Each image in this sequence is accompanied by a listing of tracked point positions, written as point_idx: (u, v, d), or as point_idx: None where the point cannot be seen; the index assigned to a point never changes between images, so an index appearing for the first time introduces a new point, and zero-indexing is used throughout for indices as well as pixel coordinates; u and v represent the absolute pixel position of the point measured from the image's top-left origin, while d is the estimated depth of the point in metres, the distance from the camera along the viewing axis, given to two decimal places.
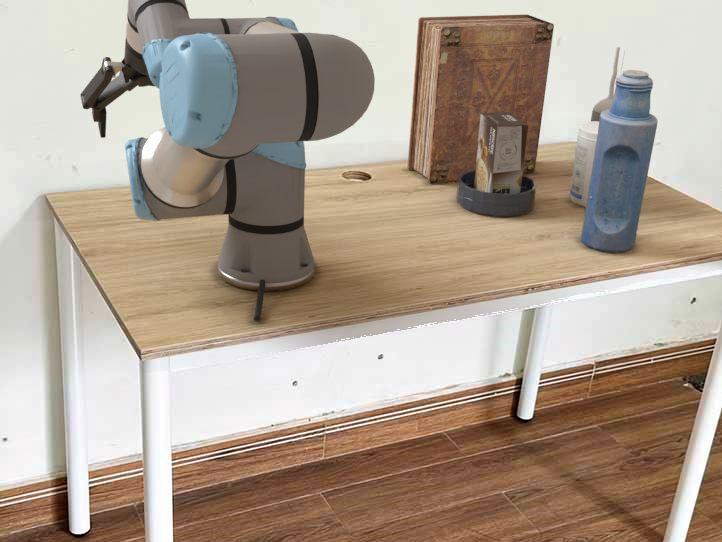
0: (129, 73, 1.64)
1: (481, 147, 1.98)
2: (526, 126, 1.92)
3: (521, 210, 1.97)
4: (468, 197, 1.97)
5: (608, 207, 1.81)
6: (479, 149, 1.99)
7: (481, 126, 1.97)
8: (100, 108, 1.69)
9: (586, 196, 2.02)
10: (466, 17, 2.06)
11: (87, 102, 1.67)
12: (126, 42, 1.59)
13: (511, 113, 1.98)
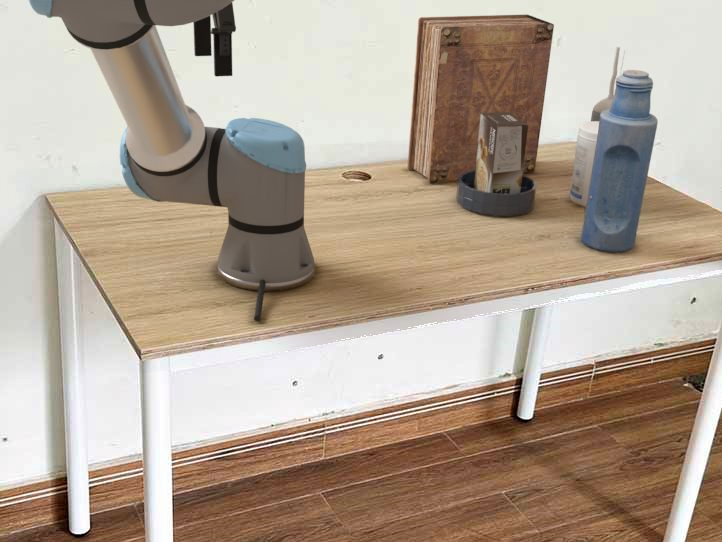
0: None
1: (481, 147, 1.98)
2: (526, 126, 1.92)
3: (521, 210, 1.97)
4: (468, 197, 1.97)
5: (608, 207, 1.81)
6: (479, 149, 1.99)
7: (481, 126, 1.97)
8: None
9: (586, 196, 2.02)
10: (466, 17, 2.06)
11: None
12: None
13: (511, 113, 1.98)
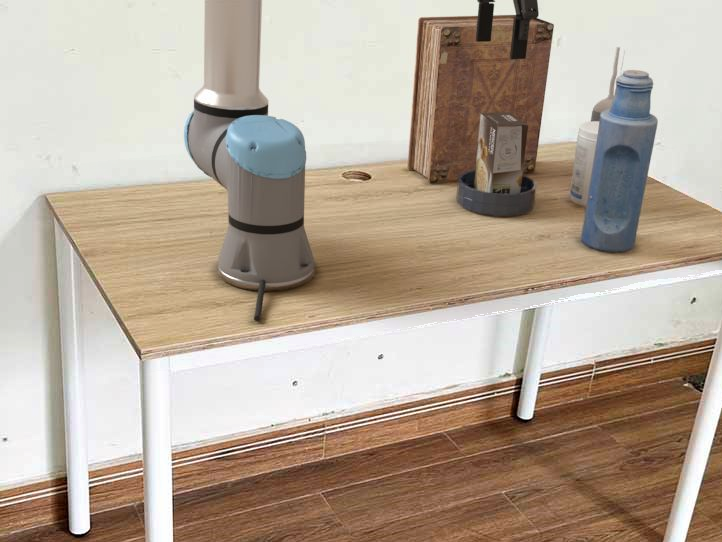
0: None
1: (481, 147, 1.98)
2: (526, 126, 1.92)
3: (521, 210, 1.97)
4: (468, 197, 1.97)
5: (608, 207, 1.81)
6: (479, 149, 1.99)
7: (481, 126, 1.97)
8: None
9: (586, 196, 2.02)
10: (466, 17, 2.06)
11: None
12: None
13: (511, 113, 1.98)
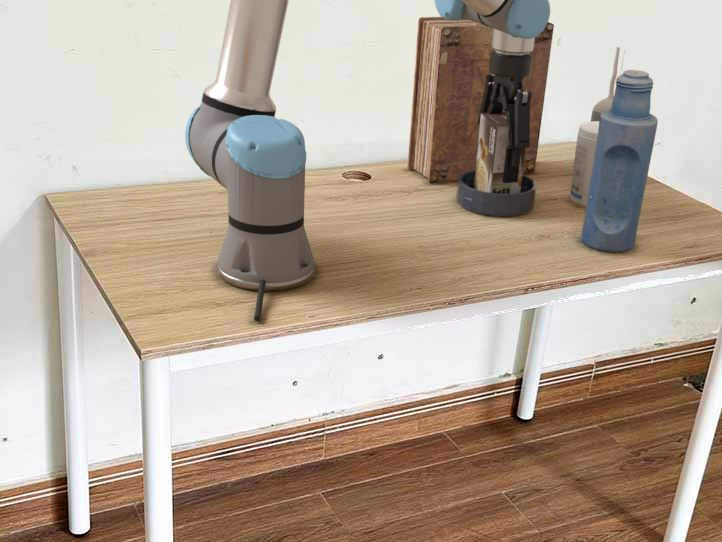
0: (494, 81, 1.94)
1: (481, 147, 1.98)
2: None
3: (521, 210, 1.97)
4: (468, 197, 1.97)
5: (608, 207, 1.81)
6: (479, 149, 1.99)
7: (481, 126, 1.97)
8: None
9: (586, 196, 2.02)
10: None
11: (479, 115, 2.01)
12: None
13: None
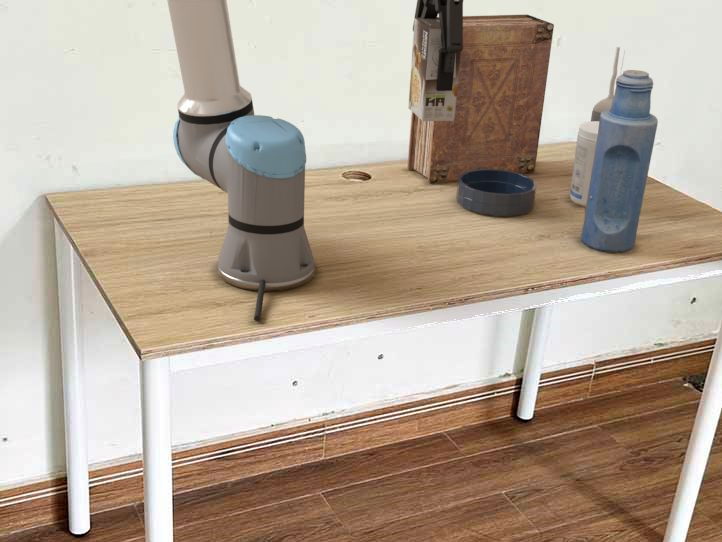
0: None
1: (415, 54, 1.87)
2: None
3: (521, 210, 1.97)
4: (468, 197, 1.97)
5: (608, 207, 1.81)
6: (413, 57, 1.88)
7: (415, 31, 1.86)
8: None
9: (586, 196, 2.02)
10: (466, 17, 2.06)
11: None
12: None
13: None
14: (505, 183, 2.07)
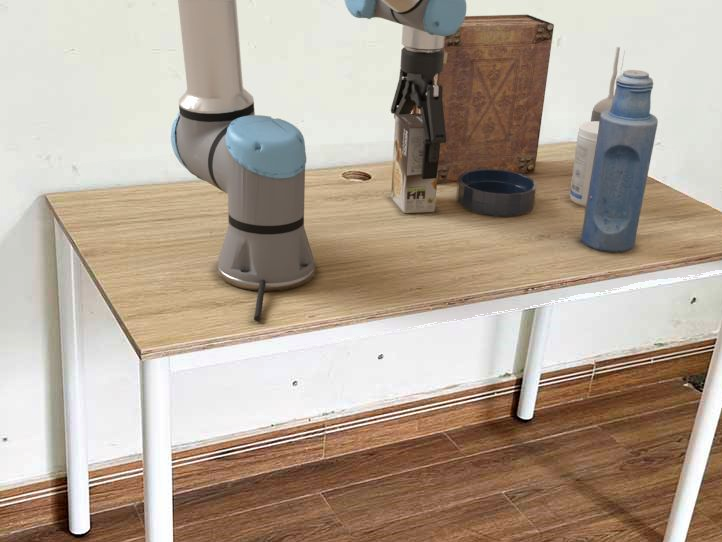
0: (408, 79, 1.90)
1: (396, 149, 1.95)
2: None
3: (521, 210, 1.97)
4: (468, 197, 1.97)
5: (608, 207, 1.81)
6: (395, 151, 1.96)
7: (396, 128, 1.94)
8: None
9: (586, 196, 2.02)
10: (466, 17, 2.06)
11: (392, 104, 1.98)
12: None
13: None
14: (505, 183, 2.07)
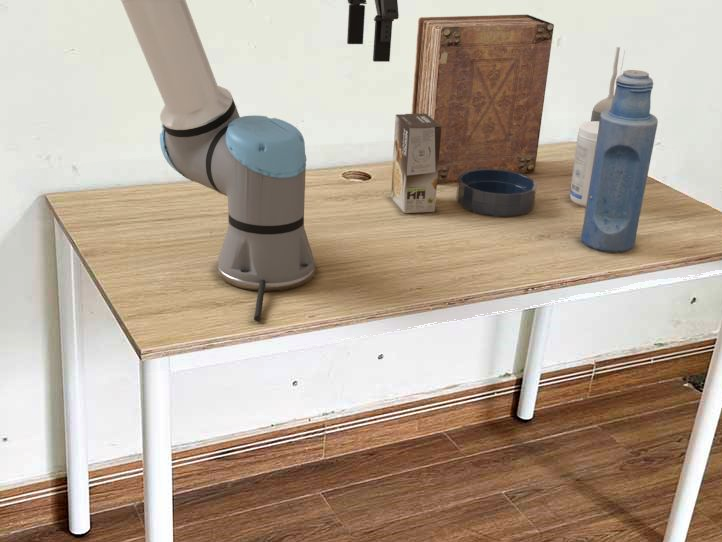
0: None
1: (396, 149, 1.95)
2: (439, 128, 1.89)
3: (521, 210, 1.97)
4: (468, 197, 1.97)
5: (608, 207, 1.81)
6: (395, 151, 1.96)
7: (396, 128, 1.94)
8: None
9: (586, 196, 2.02)
10: (466, 17, 2.06)
11: None
12: None
13: None
14: (505, 183, 2.07)
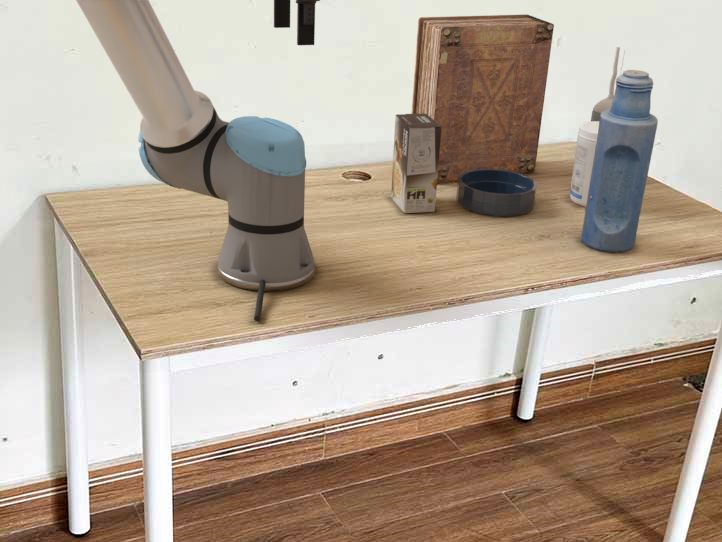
0: None
1: (396, 149, 1.95)
2: (439, 128, 1.89)
3: (521, 210, 1.97)
4: (468, 197, 1.97)
5: (608, 207, 1.81)
6: (395, 151, 1.96)
7: (396, 128, 1.94)
8: None
9: (586, 196, 2.02)
10: (466, 17, 2.06)
11: None
12: None
13: None
14: (505, 183, 2.07)
